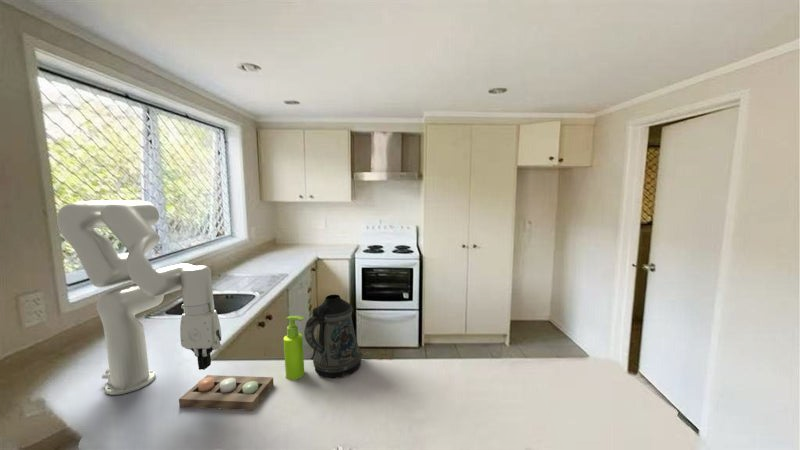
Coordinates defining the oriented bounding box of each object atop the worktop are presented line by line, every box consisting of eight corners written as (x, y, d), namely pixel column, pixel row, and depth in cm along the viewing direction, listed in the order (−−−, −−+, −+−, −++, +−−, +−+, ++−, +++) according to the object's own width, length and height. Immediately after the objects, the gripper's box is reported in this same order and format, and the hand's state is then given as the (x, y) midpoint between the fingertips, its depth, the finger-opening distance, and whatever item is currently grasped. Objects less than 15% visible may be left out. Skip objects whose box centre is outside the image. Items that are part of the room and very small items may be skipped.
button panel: (179, 407, 93) (178, 398, 93) (208, 382, 105) (207, 375, 105) (253, 410, 91) (252, 402, 91) (273, 384, 103) (273, 377, 102)
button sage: (240, 397, 95) (239, 389, 95) (248, 388, 99) (247, 380, 99) (253, 397, 95) (253, 389, 94) (261, 389, 99) (260, 381, 99)
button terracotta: (195, 393, 96) (194, 385, 96) (204, 384, 101) (204, 376, 100) (208, 393, 96) (207, 385, 96) (217, 385, 100) (217, 377, 100)
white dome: (217, 393, 96) (216, 385, 95) (226, 385, 100) (225, 377, 100) (230, 394, 95) (230, 386, 95) (239, 385, 100) (238, 378, 99)
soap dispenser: (301, 380, 105) (298, 320, 102) (282, 378, 106) (278, 319, 104) (310, 370, 110) (307, 313, 108) (291, 368, 112) (288, 312, 110)
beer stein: (367, 355, 120) (365, 289, 117) (350, 387, 101) (347, 309, 98) (325, 352, 123) (321, 287, 120) (300, 382, 104) (296, 306, 101)
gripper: (165, 312, 93) (172, 373, 95) (214, 313, 91) (220, 375, 93) (185, 303, 100) (190, 360, 102) (231, 303, 99) (236, 361, 101)
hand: (204, 367), depth 98 cm, fingers closed
